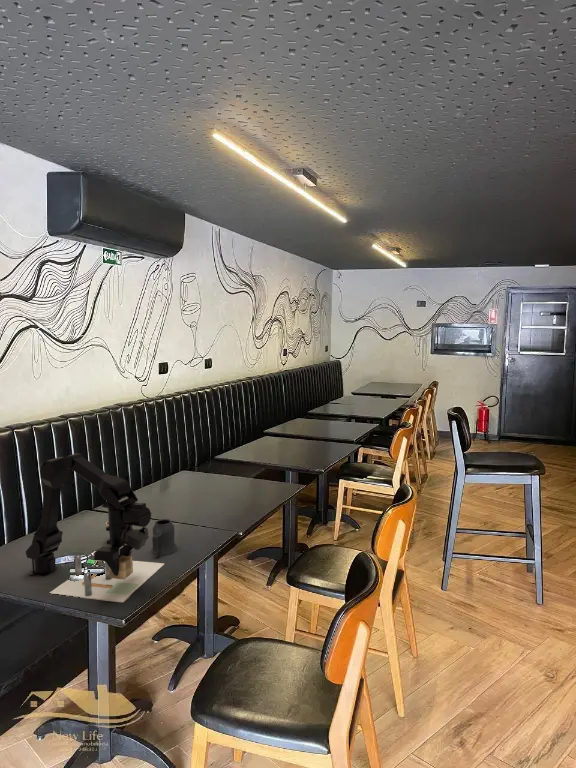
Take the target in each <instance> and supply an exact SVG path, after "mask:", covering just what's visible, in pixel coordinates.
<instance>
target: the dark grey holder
mask: <svg viewBox="0 0 576 768" xmlns="http://www.w3.org/2000/svg"><path fill="white" fill-rule="evenodd" d="M151 538H152V549H151V554H152V555H153V556H156V557H167V556H171V555H173V554H175V553H176V552H177V551H178V548H177V545H176V543H175V525H174V523H173V522H172V520H171V519H167V518H163V519H157V520H156V521H154V524H153V527H152V537H151Z"/></svg>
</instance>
